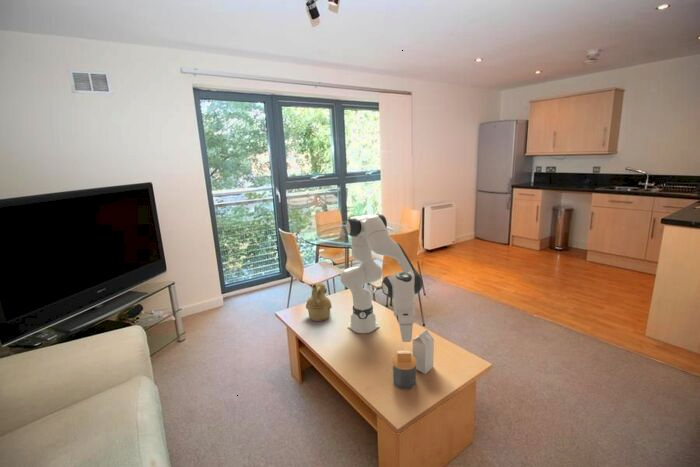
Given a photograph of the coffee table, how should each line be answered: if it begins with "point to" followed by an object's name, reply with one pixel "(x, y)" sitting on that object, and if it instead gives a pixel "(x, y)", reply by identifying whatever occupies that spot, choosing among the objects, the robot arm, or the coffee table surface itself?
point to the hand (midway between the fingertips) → (404, 339)
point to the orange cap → (404, 360)
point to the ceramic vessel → (319, 303)
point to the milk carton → (423, 351)
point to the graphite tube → (404, 378)
